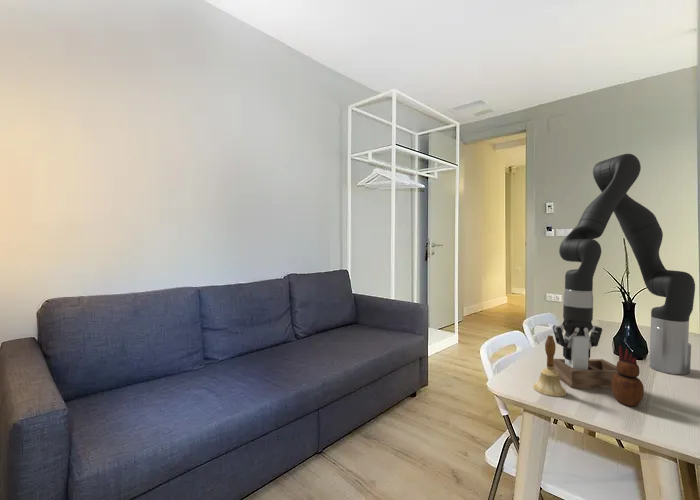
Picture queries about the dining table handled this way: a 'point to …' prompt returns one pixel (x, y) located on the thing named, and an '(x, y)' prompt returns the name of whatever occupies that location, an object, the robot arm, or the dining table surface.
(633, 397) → the wooden figurine
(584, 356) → the skincare box
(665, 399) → the dining table surface
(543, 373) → the hand bell
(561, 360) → the walnut rail
